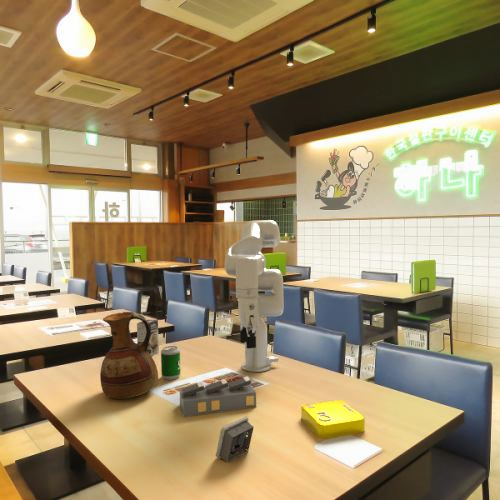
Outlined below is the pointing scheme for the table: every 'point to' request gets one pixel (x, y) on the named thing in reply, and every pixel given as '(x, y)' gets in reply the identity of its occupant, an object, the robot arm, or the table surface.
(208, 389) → the block
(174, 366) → the soda can
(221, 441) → the electrical switch
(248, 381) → the rocker
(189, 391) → the rocker
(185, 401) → the switch housing
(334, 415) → the element tile
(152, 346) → the coffee box
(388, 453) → the table surface
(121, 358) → the ceramic pitcher
